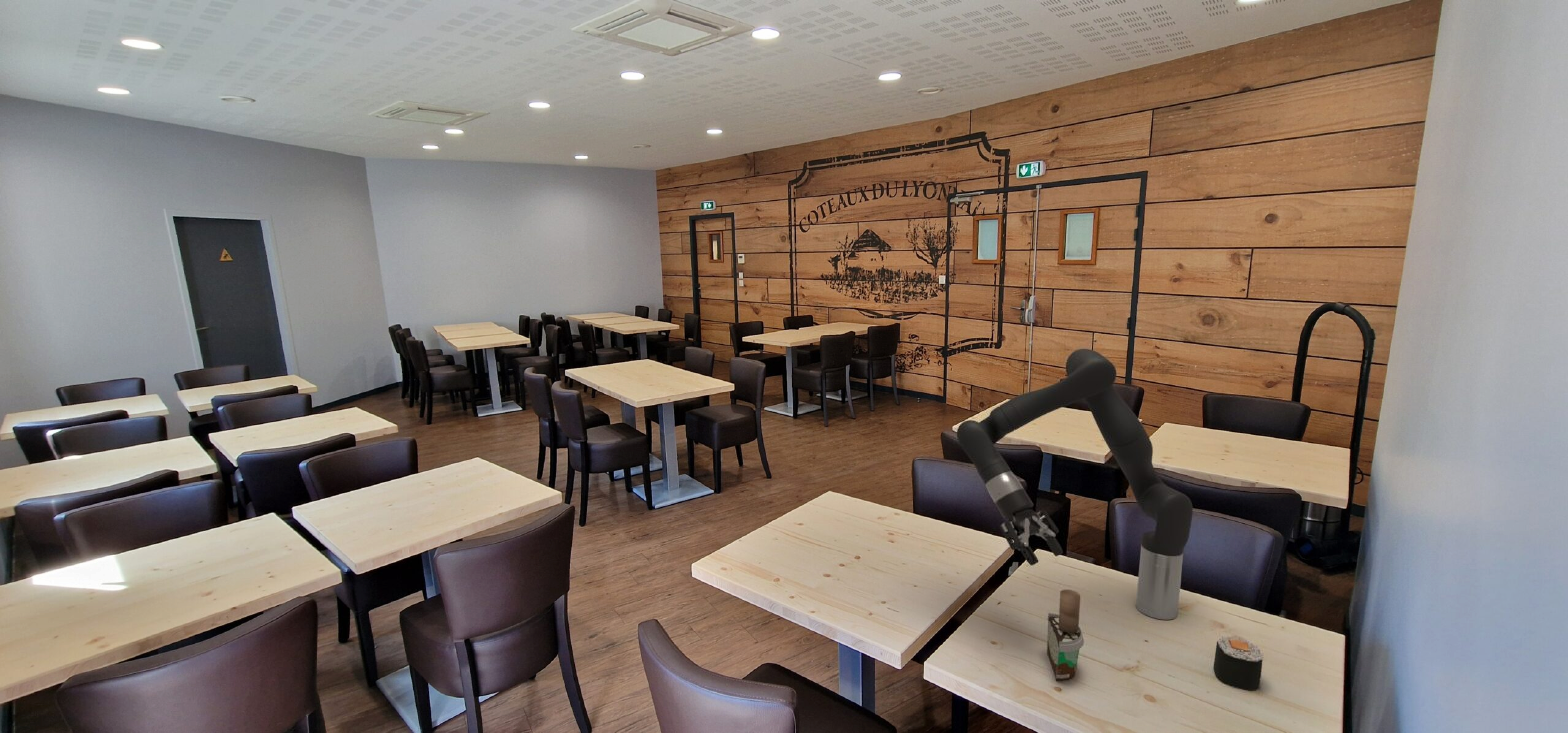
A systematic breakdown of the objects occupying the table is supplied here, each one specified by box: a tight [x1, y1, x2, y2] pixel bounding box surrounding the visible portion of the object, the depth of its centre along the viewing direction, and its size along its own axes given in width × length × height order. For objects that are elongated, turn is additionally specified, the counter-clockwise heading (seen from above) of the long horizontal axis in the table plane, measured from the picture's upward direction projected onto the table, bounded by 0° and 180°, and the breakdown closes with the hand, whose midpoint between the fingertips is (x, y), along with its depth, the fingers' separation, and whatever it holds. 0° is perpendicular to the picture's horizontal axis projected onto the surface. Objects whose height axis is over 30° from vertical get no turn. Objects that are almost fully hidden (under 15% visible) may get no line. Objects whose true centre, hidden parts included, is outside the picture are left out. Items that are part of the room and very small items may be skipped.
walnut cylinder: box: [1058, 589, 1081, 633], centre depth 137 cm, size 4×4×8 cm
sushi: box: [1213, 635, 1265, 691], centre depth 135 cm, size 8×8×8 cm
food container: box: [1046, 612, 1085, 682], centre depth 139 cm, size 12×6×10 cm, turn 169°
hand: (1047, 559), depth 141 cm, fingers open, 8 cm apart
